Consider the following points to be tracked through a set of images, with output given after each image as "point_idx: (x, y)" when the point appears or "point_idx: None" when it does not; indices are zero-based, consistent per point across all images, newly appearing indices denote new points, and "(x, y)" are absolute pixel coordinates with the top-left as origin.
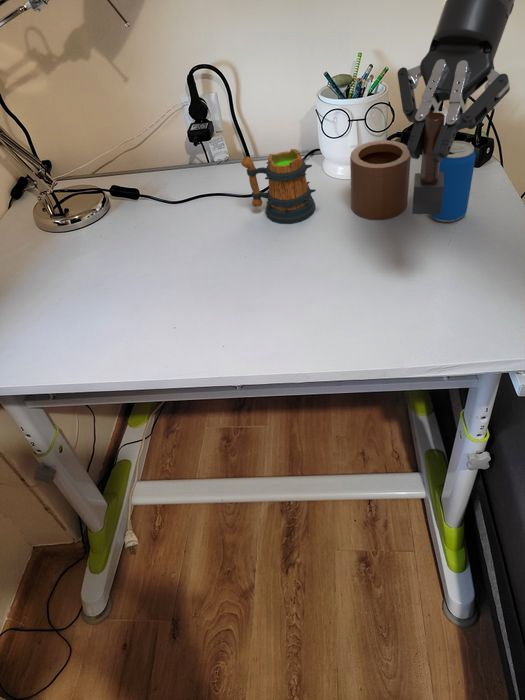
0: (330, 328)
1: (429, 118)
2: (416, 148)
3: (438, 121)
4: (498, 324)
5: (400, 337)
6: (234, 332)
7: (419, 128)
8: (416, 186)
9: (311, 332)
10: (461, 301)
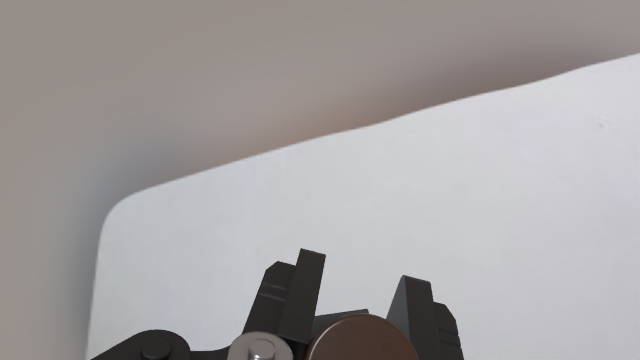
0: (441, 203)
1: (390, 338)
2: (403, 290)
3: (331, 322)
4: (134, 278)
5: (311, 206)
6: (603, 159)
7: (428, 351)
8: (360, 311)
9: (471, 186)
10: (206, 336)
